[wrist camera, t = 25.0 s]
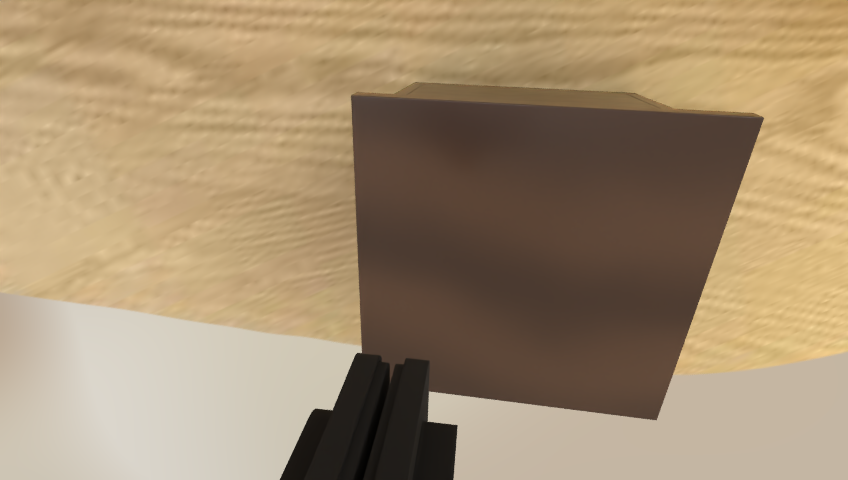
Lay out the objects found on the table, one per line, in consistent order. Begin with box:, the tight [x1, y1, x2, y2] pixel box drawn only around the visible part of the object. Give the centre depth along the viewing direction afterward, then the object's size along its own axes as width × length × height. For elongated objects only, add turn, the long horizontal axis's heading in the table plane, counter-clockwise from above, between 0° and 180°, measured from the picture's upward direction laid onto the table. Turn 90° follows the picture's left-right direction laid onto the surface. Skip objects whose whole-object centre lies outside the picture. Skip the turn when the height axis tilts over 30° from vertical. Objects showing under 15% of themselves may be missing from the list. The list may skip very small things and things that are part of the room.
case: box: [395, 82, 673, 109], centre depth 29 cm, size 15×16×15 cm
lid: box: [351, 92, 764, 420], centre depth 22 cm, size 16×16×1 cm
